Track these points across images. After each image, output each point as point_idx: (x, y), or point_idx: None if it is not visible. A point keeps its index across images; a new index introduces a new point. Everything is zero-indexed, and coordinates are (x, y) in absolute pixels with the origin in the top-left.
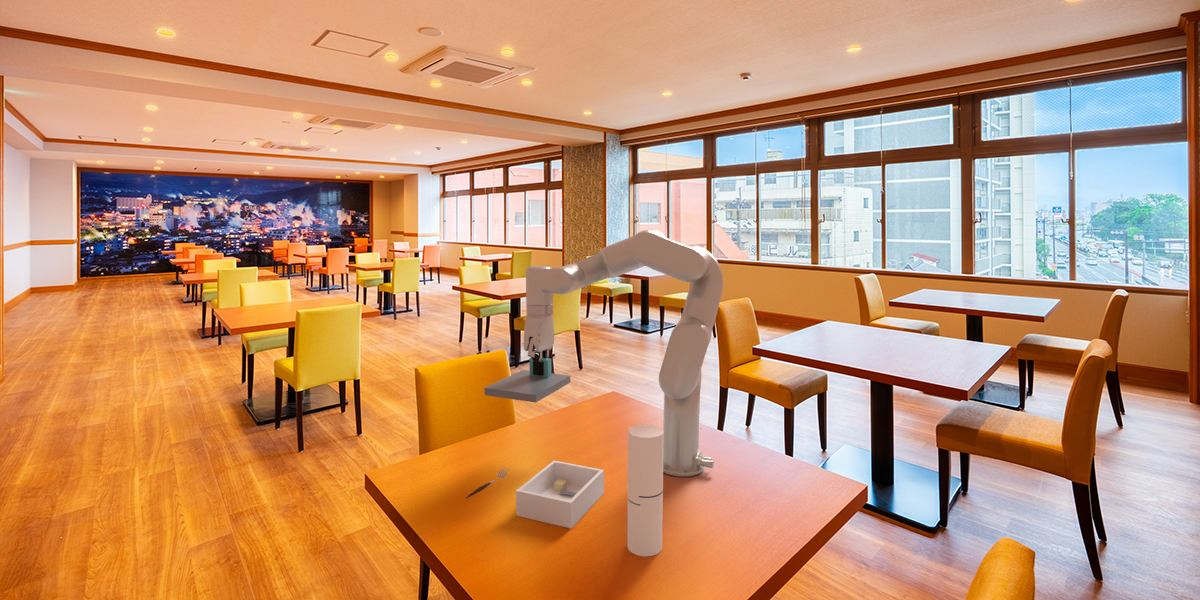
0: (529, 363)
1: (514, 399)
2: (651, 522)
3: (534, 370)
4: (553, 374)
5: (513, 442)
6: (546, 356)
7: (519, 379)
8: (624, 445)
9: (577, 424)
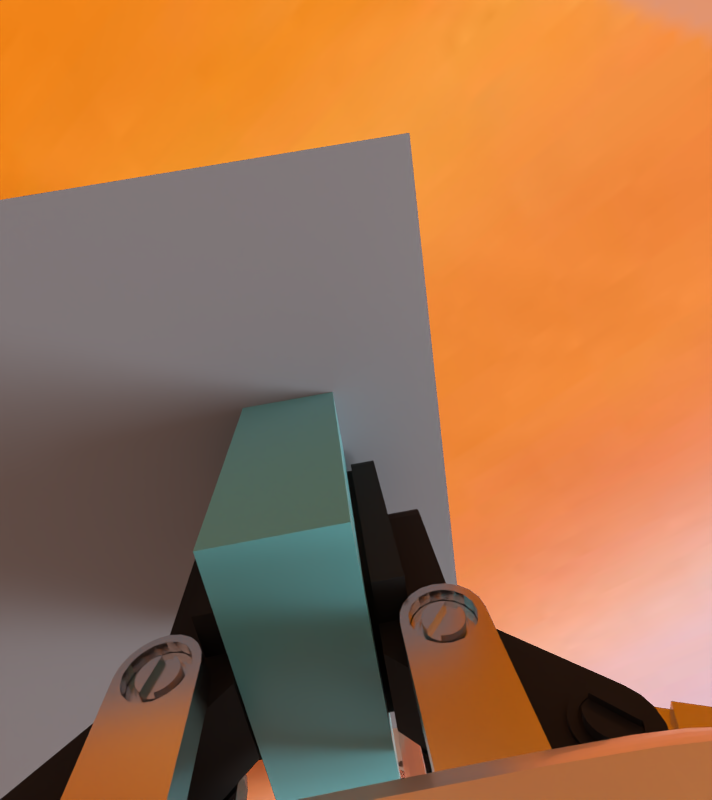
0: (217, 488)
1: None
2: None
3: (195, 564)
4: None
5: (315, 135)
6: (425, 767)
7: (16, 429)
8: (520, 538)
9: (653, 264)
